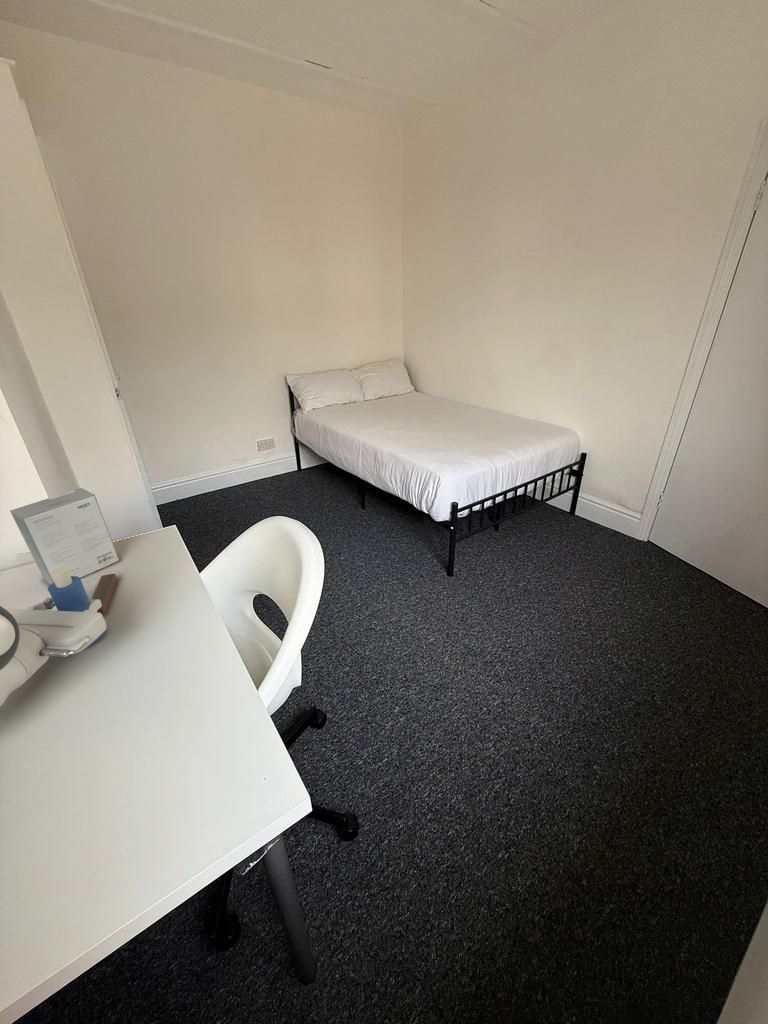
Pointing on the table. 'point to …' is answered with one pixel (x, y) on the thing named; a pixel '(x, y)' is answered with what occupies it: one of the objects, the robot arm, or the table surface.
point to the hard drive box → (66, 534)
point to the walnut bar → (104, 591)
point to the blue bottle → (68, 593)
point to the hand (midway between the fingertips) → (75, 601)
